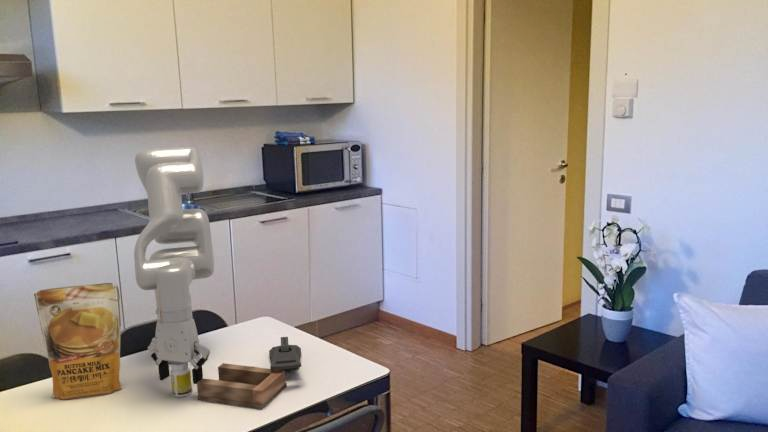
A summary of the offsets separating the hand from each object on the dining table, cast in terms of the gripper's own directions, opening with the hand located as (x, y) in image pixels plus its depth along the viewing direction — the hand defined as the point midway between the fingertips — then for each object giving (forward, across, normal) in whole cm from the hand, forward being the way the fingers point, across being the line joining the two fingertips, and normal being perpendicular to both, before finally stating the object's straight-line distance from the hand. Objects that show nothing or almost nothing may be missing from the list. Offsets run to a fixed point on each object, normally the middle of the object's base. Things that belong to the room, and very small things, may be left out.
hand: (181, 380), depth 164 cm
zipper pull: (+4, +19, +20) cm, 28 cm away
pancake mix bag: (+4, -25, -5) cm, 25 cm away
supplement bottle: (+4, 0, +1) cm, 4 cm away
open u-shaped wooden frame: (+4, +14, +4) cm, 16 cm away
